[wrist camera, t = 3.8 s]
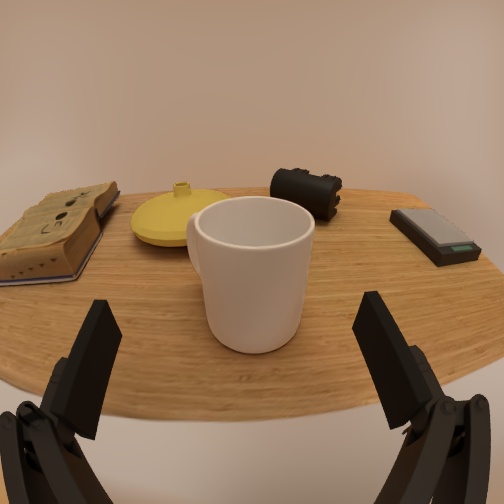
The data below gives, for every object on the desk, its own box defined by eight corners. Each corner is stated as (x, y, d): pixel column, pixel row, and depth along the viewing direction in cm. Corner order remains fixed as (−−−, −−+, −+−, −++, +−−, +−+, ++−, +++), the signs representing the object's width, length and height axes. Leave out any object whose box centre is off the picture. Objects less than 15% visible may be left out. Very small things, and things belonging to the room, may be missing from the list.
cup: (263, 374, 19) (269, 266, 14) (165, 305, 25) (143, 210, 20) (315, 313, 25) (333, 214, 19) (222, 267, 31) (216, 181, 25)
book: (77, 282, 28) (61, 239, 25) (-3, 286, 25) (-19, 252, 22) (122, 203, 48) (117, 175, 45) (57, 214, 46) (50, 188, 43)
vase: (144, 213, 44) (138, 175, 40) (234, 205, 46) (233, 165, 42) (123, 266, 31) (109, 214, 27) (249, 254, 33) (248, 200, 29)
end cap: (268, 211, 44) (269, 171, 40) (289, 199, 49) (291, 163, 45) (325, 228, 39) (330, 185, 36) (340, 213, 44) (345, 175, 40)
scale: (477, 259, 32) (483, 246, 30) (437, 266, 31) (443, 250, 29) (430, 220, 44) (434, 207, 42) (389, 220, 42) (392, 207, 41)
